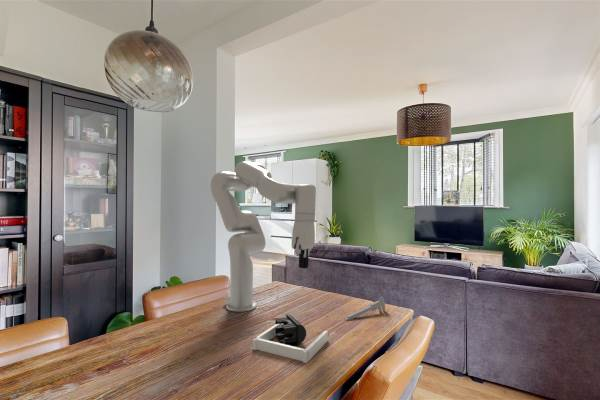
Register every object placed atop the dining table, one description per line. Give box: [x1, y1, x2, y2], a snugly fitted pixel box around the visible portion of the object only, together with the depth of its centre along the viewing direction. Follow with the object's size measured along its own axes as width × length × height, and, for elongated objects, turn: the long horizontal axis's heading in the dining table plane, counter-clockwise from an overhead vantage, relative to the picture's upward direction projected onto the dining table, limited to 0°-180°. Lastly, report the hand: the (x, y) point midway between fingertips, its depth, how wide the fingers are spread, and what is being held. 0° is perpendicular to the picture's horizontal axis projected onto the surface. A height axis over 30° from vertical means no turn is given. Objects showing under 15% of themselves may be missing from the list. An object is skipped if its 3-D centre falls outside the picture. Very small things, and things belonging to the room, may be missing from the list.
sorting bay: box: [252, 323, 329, 364], centre depth 96 cm, size 18×16×3 cm
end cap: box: [274, 314, 307, 347], centre depth 99 cm, size 10×7×7 cm
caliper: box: [344, 296, 386, 321], centre depth 122 cm, size 20×1×6 cm, turn 120°
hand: (303, 267), depth 113 cm, fingers closed
